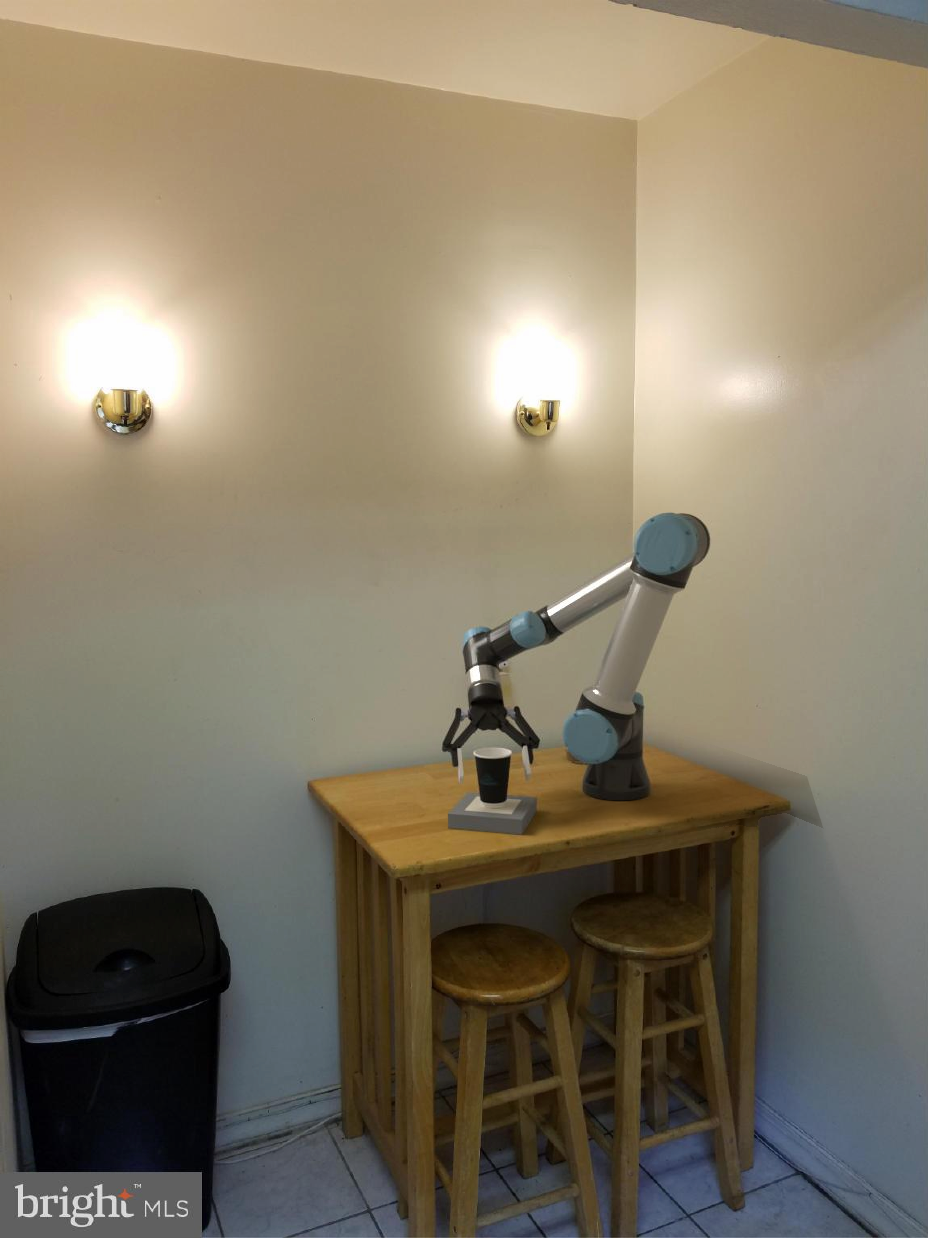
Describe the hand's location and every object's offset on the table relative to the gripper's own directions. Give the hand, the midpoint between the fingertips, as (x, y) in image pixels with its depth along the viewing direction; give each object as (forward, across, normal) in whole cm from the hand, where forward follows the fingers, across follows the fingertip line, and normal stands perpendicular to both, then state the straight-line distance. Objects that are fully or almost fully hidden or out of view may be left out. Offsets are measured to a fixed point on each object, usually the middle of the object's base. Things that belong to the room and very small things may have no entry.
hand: (495, 778), depth 186 cm
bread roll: (-25, -30, -39) cm, 55 cm away
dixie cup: (+3, 0, -6) cm, 7 cm away
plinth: (+5, 0, -8) cm, 9 cm away
